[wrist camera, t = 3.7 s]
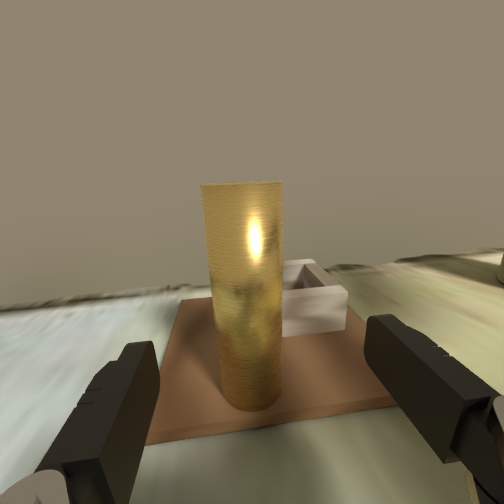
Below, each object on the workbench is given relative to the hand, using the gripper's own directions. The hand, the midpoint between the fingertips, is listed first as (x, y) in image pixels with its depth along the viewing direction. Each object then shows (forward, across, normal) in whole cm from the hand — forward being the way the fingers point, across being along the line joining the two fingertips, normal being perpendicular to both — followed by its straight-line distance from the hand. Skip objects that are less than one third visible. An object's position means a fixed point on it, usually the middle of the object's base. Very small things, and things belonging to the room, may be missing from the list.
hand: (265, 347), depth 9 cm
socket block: (+12, -2, +9) cm, 15 cm away
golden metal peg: (+6, 0, +8) cm, 10 cm away
